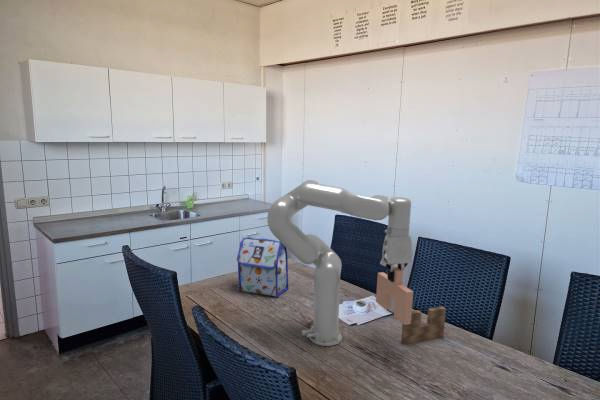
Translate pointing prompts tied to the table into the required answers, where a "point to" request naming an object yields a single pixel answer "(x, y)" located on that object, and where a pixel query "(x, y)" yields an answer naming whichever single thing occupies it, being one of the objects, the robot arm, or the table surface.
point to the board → (424, 326)
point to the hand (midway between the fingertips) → (394, 279)
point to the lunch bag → (262, 266)
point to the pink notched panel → (395, 295)
